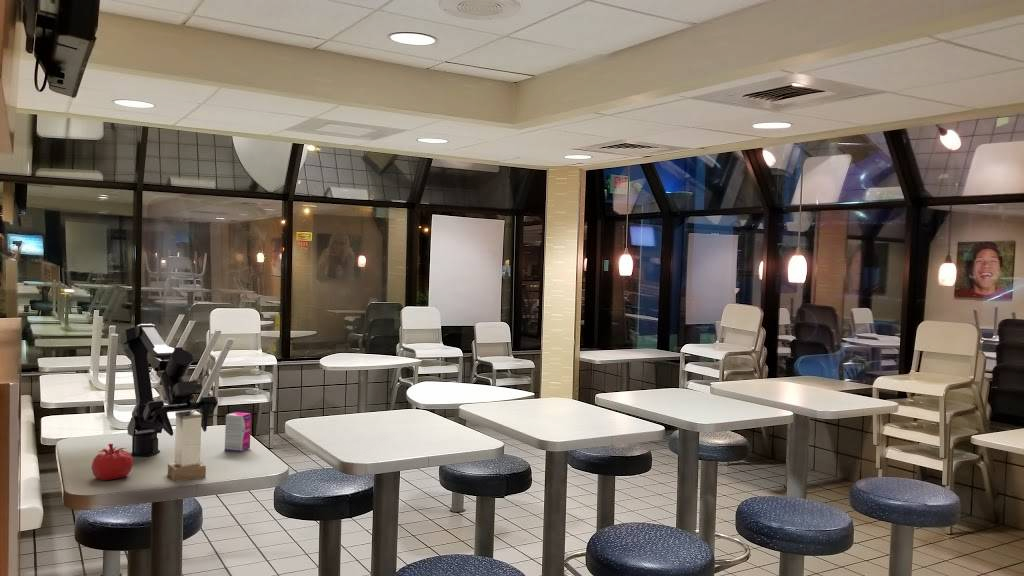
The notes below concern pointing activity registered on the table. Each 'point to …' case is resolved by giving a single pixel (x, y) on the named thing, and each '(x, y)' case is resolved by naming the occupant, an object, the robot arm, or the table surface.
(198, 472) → the walnut block
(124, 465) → the red tomato
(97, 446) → the table surface
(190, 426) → the white tall block
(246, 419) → the supplement box
